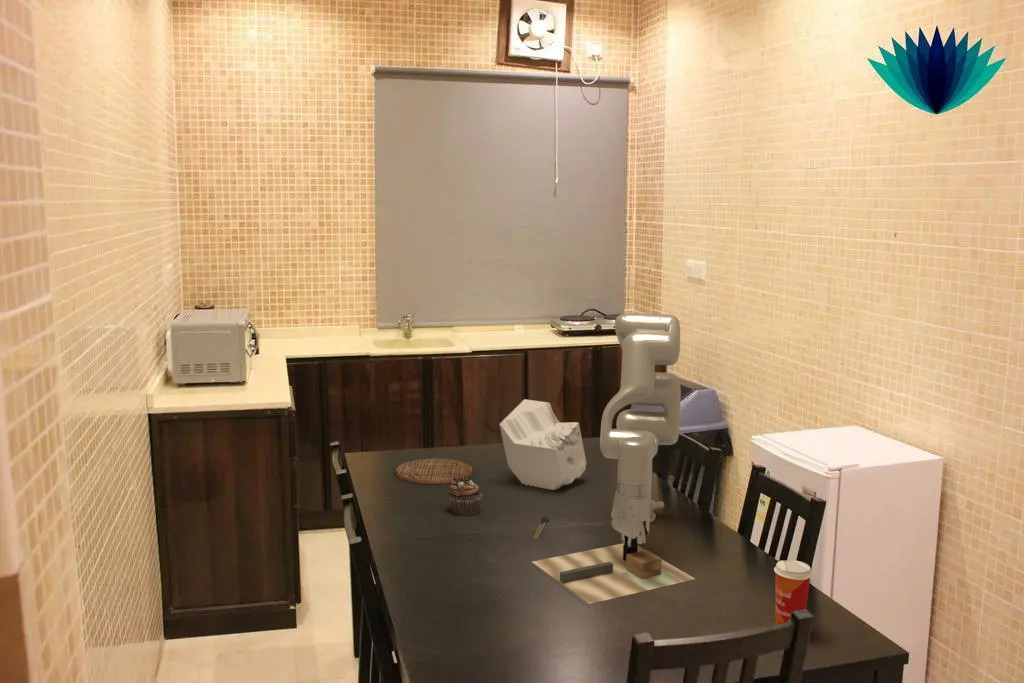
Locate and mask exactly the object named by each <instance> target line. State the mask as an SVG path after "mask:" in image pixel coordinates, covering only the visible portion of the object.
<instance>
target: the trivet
mask: <svg viewBox="0 0 1024 683" xmlns="http://www.w3.org/2000/svg"><path fill="white" fill-rule="evenodd" d="M471 474H472V475H473V468H472V466H471V465H470V464H468V463H467V462H464V461H460V460H456V459H451V458H450V459H449V458H440V457H439V458H421V459H415V460H410V461H406V462H404V463H402V464H400V465H398V467H397V468H396V477H397V478H398V479H399V480H401V481H403V482H406V483H409V484H412V483H414V484H413V485H418V484H425V485H424V486H443V485H442V484H447V485H449V484H448V483H452V481H453V478H457V479H460V478H463V477H465V476H468V477H469V476H471V477H472V475H471Z"/></svg>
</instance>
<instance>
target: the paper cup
mask: <svg viewBox="0 0 1024 683" xmlns="http://www.w3.org/2000/svg"><path fill="white" fill-rule="evenodd" d="M773 571H774V572H775V591H774V593H775V596H774V597H775V600H774V601H775V615H774V616H775V617H774V618H775V625H776V624H781V623H786V622H787V621H788V620H789V618H790V614H791V613H792V612H793V611H796V610H803V609H806V610H807V606H808V605H807V604H808V598H809V591H810V584H811V577H813V572H812V571H811V567H810V565H809V564H808V563H806V562H803V561H799V560H795V559H792V560H790V559H789V560H779V561H778V562H776V566H774V568H773Z"/></svg>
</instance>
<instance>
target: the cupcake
mask: <svg viewBox="0 0 1024 683" xmlns="http://www.w3.org/2000/svg"><path fill="white" fill-rule="evenodd" d="M482 496H483V494H482V493H481V492H480V487H479V485H477V484H476V483H474V481H473V480H472V479H471V478H468V476H465V477H463V478H460V479H457V478H453V481H452V484H450V485H449V487H448V500H449V503H450V508H451V512H452V513H453V512H454V513H456V514H455V515H457V514H461V515H460V516H464V515H467V516H473V515H472V514H474V515H476V514H478V513H479V512H480V509H481V501H482ZM478 511H479V512H478ZM454 513H453V514H454ZM475 513H476V514H475Z"/></svg>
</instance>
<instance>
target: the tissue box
mask: <svg viewBox="0 0 1024 683" xmlns="http://www.w3.org/2000/svg"><path fill="white" fill-rule="evenodd" d="M498 425H499V429H500V435H501V438H502V443H503V448H504V451H505V452H504V453H505V458H506V462H507V467H508V468H509V469H510V470H511V472H512V474H514V476H515V477H516V478H517V479H518V481H519V482H520V483H521V484H522V485H523V484H525V485H524V486H528V485H529V486H530V487H533V486H534V487H533V488H541V489H546V490H549V491H556V490H558V491H559V489H560V488H561V487H563V486H566V485H569V484H572V483H573V482H574V480H575V479H579V478H581V476H582V474H583V473H584V472H585V471H586V470H587V467H586V466H587V464H588V463H587V458H586V454H585V453H586V452H585V448H584V444H583V438H582V434H581V428H580V423H579V422H576V421H574V422H560V420H559V419H558V418H557V416H556V414H555V413H554V411H553V408H552V405H551V402H547V401H540V400H532V399H526V398H524V399H523V400H522V401H521V402H520V403H519V404H518V405H517V406H516V407H514V409H513V410H511V412H510V413H509V414H508V415H507V416H506V417H504V419H503V420H502V421H501V422H499V424H498ZM529 486H528V487H529Z"/></svg>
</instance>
